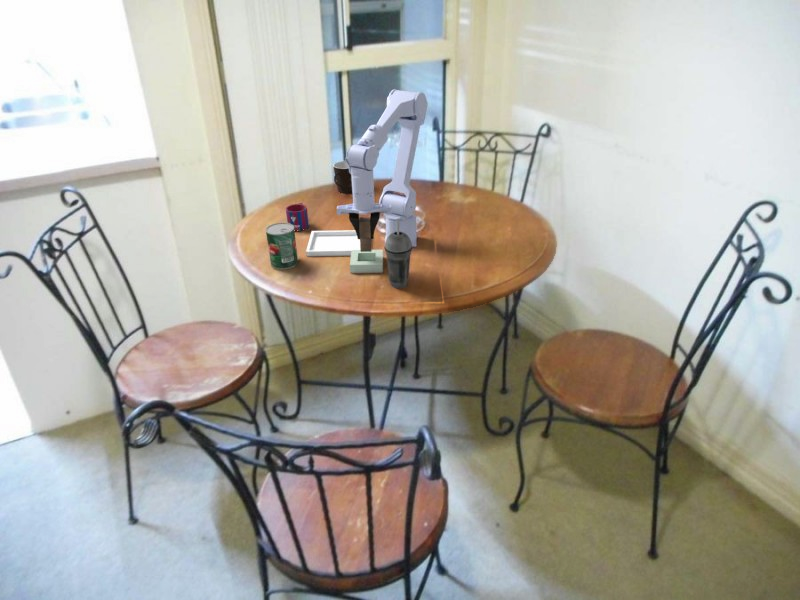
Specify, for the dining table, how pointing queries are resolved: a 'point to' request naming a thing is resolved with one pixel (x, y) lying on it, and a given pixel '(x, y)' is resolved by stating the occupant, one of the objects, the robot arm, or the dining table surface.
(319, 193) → the dining table surface
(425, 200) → the dining table surface
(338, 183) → the coffee mug
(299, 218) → the cup
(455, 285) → the dining table surface
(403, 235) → the beverage cup
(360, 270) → the mint square peg hole
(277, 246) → the canned tomato
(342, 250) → the tray
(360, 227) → the walnut peg
